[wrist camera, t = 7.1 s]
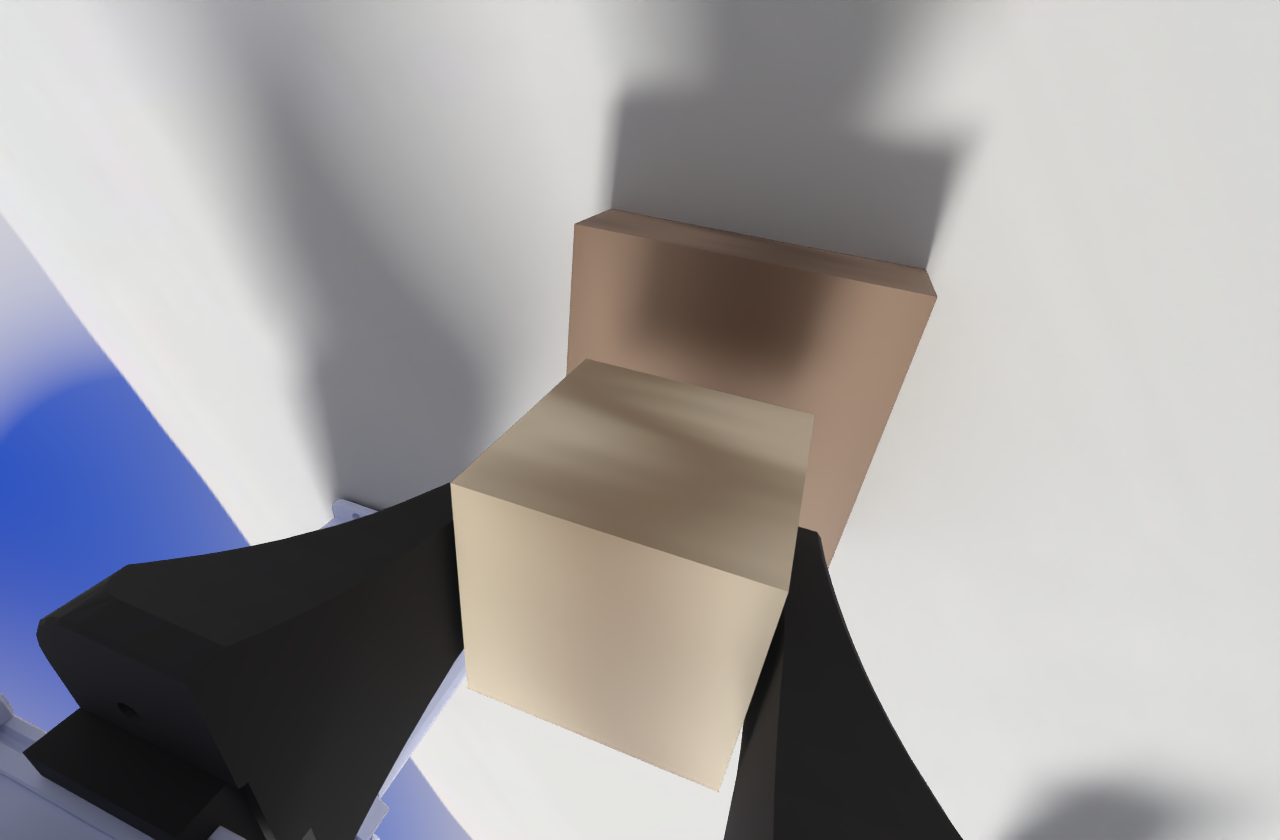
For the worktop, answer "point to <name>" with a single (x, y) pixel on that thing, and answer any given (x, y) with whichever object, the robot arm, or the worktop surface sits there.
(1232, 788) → the worktop surface
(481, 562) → the maple cube
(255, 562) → the robot arm
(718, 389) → the walnut block
